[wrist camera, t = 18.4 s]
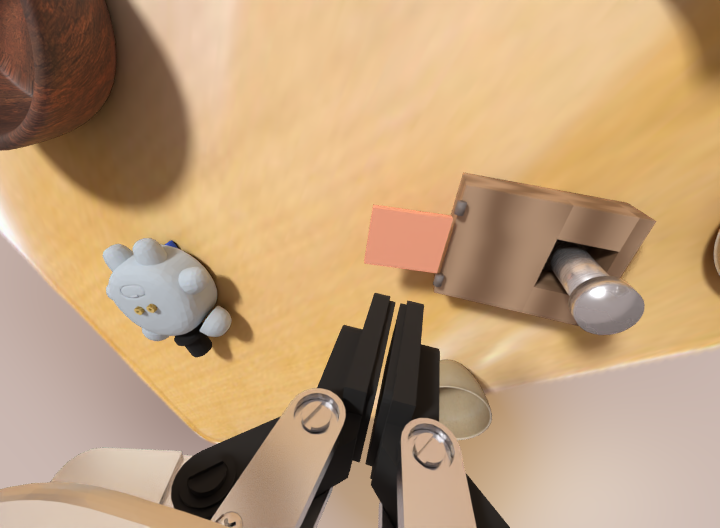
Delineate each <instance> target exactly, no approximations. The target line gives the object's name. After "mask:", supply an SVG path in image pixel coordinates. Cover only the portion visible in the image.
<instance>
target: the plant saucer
mask: <svg viewBox="0 0 720 528" xmlns="http://www.w3.org/2000/svg"><path fill="white" fill-rule="evenodd" d="M714 263H715V267H716V270H717V272H718V274H719V276H720V229H719V231H718V234H717V237H716V240H715V245H714Z"/></svg>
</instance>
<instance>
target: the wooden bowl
mask: <svg viewBox="0 0 720 528" xmlns="http://www.w3.org/2000/svg"><path fill="white" fill-rule="evenodd" d="M115 70H116V46H115V39H114V32H113V27H112V23H111V19H110V15H109V12H108V9H107V6H106V3H105V0H0V150H11V149H17V148H21V147H26V146H29V145H33V144H36V143H39V142H43V141H46V140H49V139H52V138H55V137H58V136H60V135H63V134H65V133H68V132H70V131H72V130H74V129H76V128H77V127H79V126H81V125H82V124H84V123H85V122H87V121H88V120H89V119H90V118H92V117H93V116H94V115H95V114H96V113H97V112H98V111H99V109H100V108H101V107H102V105H103V104H104V102H105V101H106V99H107V98H108V96H109V94H110V91H111V89H112V86H113V82H114V77H115Z"/></svg>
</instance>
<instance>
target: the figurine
mask: <svg viewBox="0 0 720 528" xmlns="http://www.w3.org/2000/svg"><path fill="white" fill-rule="evenodd" d="M103 258H104V261H105V262H106V264H107V265H108V267H109V268H110V269H111V270H112V271H113V273H112V274H111V276H110V279H109V284H108V286H107V287H106V293H107V295H108V297H109V298H110V299H112V300H114V302H115V304H116V305H117V306H118V308H119V309H120V310H121V311H122V312H123V313H124V314H125V315H126V316H127V317H128V318H129V319H130V320H131V321H133V322H134V323H135V324H137V325H138V326H140V327H142V332H143V334H144V335H145V337H147V338H148V339H150V340H153V341H161V340H164V339H166V338H168V337H169V336H175V338H174V341H175V342H176V344H177V345H179V346H185V347H186V348H187V350H188V351H189V352H190V353H191V355H193V356H194V357H200V356H203V355H205V354H206V353H207V352H208V351H209V350H210V349H211V348H212V342H211V340H210V339H209V338H208V336H211V337H218V336H221V335H223V334H224V333H225V332H226V331H227V330H228V329H229V327H230V325H231V320H232V319H231V316H230V314H229V313H228V311H226V310H225V309H224V308H222V307H220V306H216V307H215V309H214V310H213V311H212V312H211V313H210V315H209V316H208V317H207V319H206V320H205V322H204V323H203V322H202V321H203V320H204V318H205V317H206V316H207V315H208V314H209V312H210V311H211V310H212V308H213V307H214V305H215V304H216V301H217V289H216V286H215V283H214V281H213V279H212V277H211V275H210V274H209V272H208V271H207V270H206V269H205V267H204V266H203V265H202V264H201V263H200V262H199V261H197V260H196V259H195V258H193V257H192V256H191V255H189V254H188V253H186V252H184V251H182V250H180V249H178V247H177V246H176V244H175V243H174V242H173V241H172V240H171V241H169V242H168V243H167V244H165V245H160V244H159V243H158V242H157V241H156V240H154V239H151V238H144V239H141V240H139V241H137V242H136V243H135V244H134V246H133V251H131V250H130V249H129V248H127V247H126V246H124V245H121V244H115V245H112V246H110V247H109V248H107V249H106V250H105V251H104V252H103Z"/></svg>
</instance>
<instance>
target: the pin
mask: <svg viewBox="0 0 720 528" xmlns="http://www.w3.org/2000/svg"><path fill="white" fill-rule="evenodd" d="M547 263H548V264H549V266H550V267H551V269H552V270H553V272H554V273H555V275H556V276H557V278H558V279H559V281H560V283H561V284H562V286H563V287H564V289H565V290H566V292H567V293H568V295H569V296H570V297H569V300H568V308H569V310H570V312H571V314H572V316H573V317H574V319H575V320H576V322H577V324H578V325H579V326H580V327H581V328H582V329H584V330H585V331H587V332H590V333H593V334H598V335H610V334H616V333H619V332H622V331H625V330H627V329H628V328H630V327H632V326H633V325H634V324H636V323H637V322H638V321H639V319H640V318H641V316H642V314H643V312H644V301H643V299H642V297H641V296H640V295H639V294H638V293H637V292H636V291H635V290H634V289H633V288H632V287H631V286H630V285H629V284H628V283H627V282H626V281H625V280H623V279H620V278H618V277H613V276H609V275H608V274H607V273H606V272H605V271H604V270H603V269H602V268H601V266H600V265H599V264H598V263H597V262H596V261H595V260H594V259H593V258H592V257H591V256H590V255H589V254H588V253H587V252H586V251H585V249H584V248H583V247H582V246H581V245H580V244H578V243H573V242H568V241H563V240H558V239H557V241H556V243H555V245H554V247H553V249H552V251H551V253H550V255H549V257H548V259H547Z"/></svg>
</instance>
